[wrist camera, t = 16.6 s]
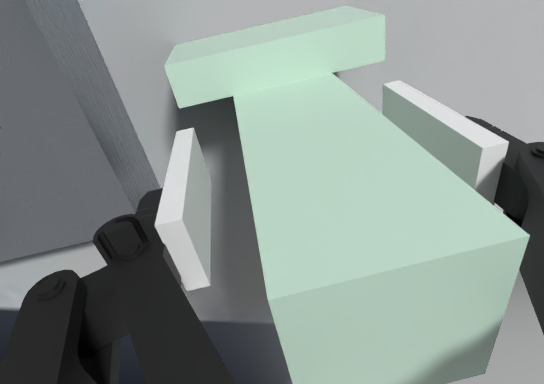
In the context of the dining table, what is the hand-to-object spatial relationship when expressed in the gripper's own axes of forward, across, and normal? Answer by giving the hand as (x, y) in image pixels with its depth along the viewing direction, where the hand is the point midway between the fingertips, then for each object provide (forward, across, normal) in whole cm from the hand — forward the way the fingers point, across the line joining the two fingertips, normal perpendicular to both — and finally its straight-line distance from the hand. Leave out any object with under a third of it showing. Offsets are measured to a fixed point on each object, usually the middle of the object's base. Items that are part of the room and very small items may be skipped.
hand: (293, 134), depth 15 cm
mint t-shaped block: (+6, 0, 0) cm, 6 cm away
